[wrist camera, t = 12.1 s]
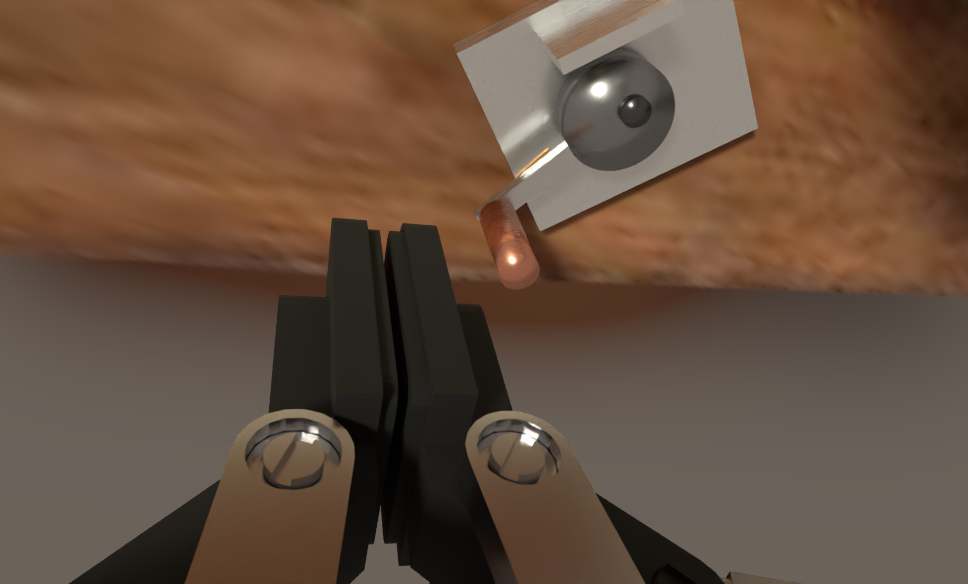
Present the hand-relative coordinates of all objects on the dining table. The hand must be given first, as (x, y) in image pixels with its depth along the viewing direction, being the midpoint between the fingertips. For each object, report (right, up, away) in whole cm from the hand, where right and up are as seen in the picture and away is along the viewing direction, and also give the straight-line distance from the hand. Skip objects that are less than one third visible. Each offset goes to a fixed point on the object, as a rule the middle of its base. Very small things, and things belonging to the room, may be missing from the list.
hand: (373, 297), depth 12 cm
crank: (+6, +8, +27) cm, 29 cm away
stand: (+9, +12, +28) cm, 31 cm away
